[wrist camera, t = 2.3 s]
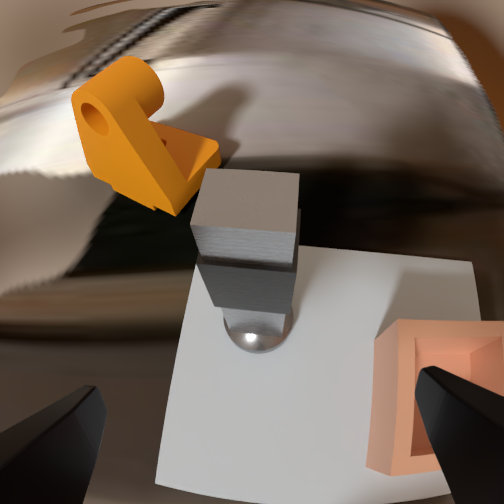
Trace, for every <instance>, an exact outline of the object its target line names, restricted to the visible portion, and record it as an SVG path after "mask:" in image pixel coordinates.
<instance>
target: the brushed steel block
mask: <svg viewBox="0 0 504 504" xmlns="http://www.w3.org/2000/svg"><path fill="white" fill-rule="evenodd" d="M298 189H299V174H296V173H283V172H269V171H253V170H235V169H211V168H206V171H205V174H204V178H203V181H202V184H201V188H200V191H199V195H198V198H197V202H196V205H195V209H194V212H193V216H192V219H191V223H190V226H191V229H192V232H193V235H194V237H195V240H196V243H197V246H198V248H199V254H198V258H197V262H196V265H197V267H198V269H199V272H200V274H201V277H202V279H203V281H204V284H205V286H206V288H207V291H208V293H209V295H210V298H211V300H212V302H213V305H214V307H221V309H222V312H223V321H224V326H225V329H226V331H227V334H228V336H229V338H230V339H231V341H232V342H233V343H234V344H235V345H236V346H237V347H239V348H240V349H242V350H244V351H246V352H249V353H254V354H262V353H268V352H271V351H273V350H275V349H277V348H278V347H280V346H281V345H282V344H283V343H284V342H285V341H286V340H287V338H288V337H289V335H290V332H291V329H292V325H293V309H292V306H291V305H292V299H293V293H294V287H295V281H296V275H297V264H298V250H299V234H300V217H301V209H297V207H298Z"/></svg>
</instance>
